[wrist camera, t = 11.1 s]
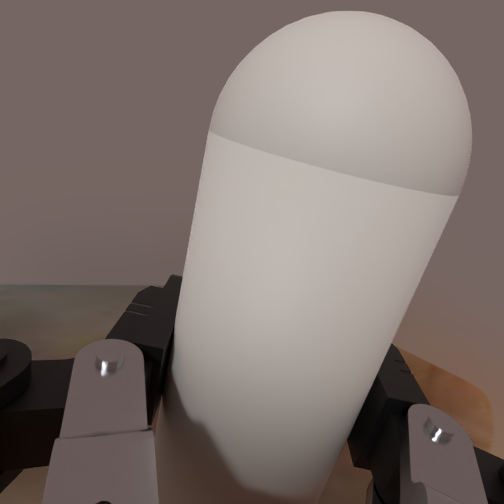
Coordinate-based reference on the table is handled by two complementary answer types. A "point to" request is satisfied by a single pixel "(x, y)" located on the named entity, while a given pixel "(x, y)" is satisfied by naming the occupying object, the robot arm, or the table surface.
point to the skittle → (305, 253)
